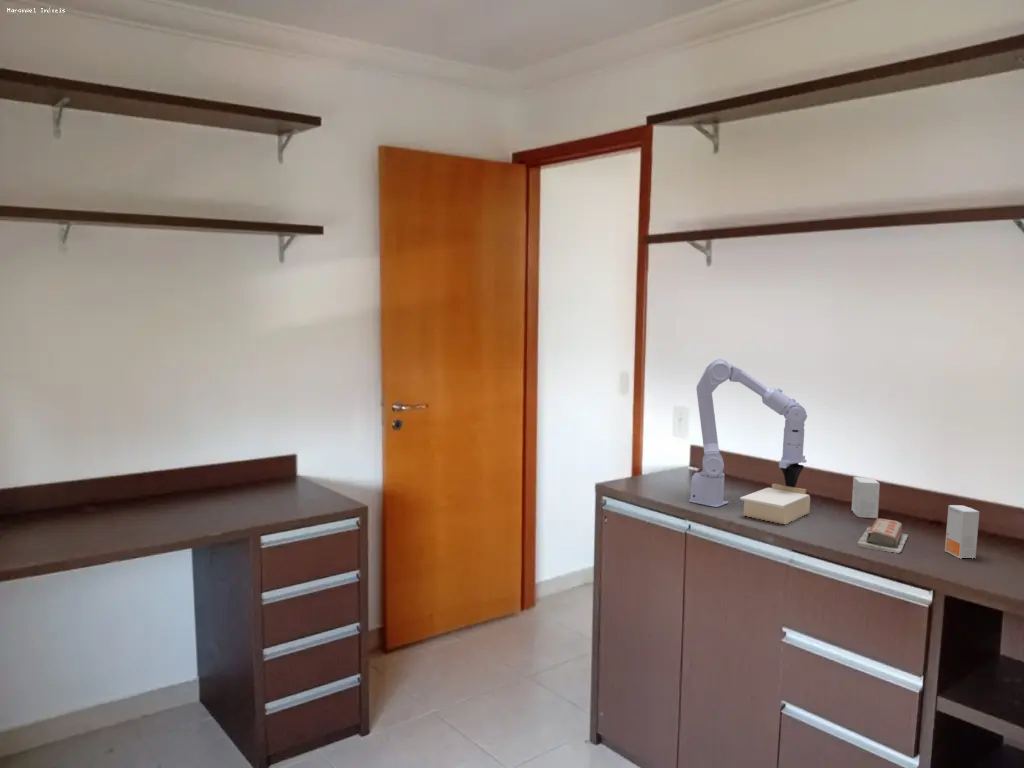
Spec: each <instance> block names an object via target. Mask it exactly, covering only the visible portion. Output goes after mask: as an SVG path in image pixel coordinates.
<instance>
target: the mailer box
mask: <svg viewBox="0 0 1024 768" xmlns="http://www.w3.org/2000/svg"><path fill="white" fill-rule="evenodd" d="M810 506H811V496H809V497H808V498H805V499H803V500H801V501H798V502H796V503H794V504H791V505H789V506H787V507H784V508H781V507H775V506H770V505H765V504H760V503H755V502H750V501H745V500H743V517H744V516H747V517H746V518H748V517H752V518H751V519H753V518H756V519H755V520H758V519H761V520H760V521H762V520H765V521H764V522H767V521H770V522H769V523H772V522H774V523H773V524H777V523H779V524H778V525H781V524H785V525H787V524H790V523H791V521H792V522H794V521H796V520H798V519H800V518H803V517H804V515H805V516H806V515H809V514H810V510H811V509H810V508H811V507H810ZM802 516H803V517H802ZM789 522H790V523H789Z"/></svg>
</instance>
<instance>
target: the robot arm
mask: <svg viewBox="0 0 1024 768" xmlns="http://www.w3.org/2000/svg"><path fill="white" fill-rule="evenodd" d="M728 380H729V382H732V383H740V384H741V385H743V386H744V387H746V388H748V389H749V390H751V391H752V392H754V393H755V394H757V395H759V396H760V397H761V401H762V404H764V405H765V406H767V408H769V409H771V410H772V411H773V412H774V413H775V412H776V413H777V414H778V415H779V416H783V417H784V419H785V421H784V428H783V438H782V439H783V443H782V456H781V459H780V460H779V461H778V467H779V468H780V470H781V471H782V475H783V477H784V483H785V486H790V487H796V486H797V482H798V479H799V476H800V475H801V473H802V471H803V470H804V465H803V464H805V463H807V459H806V455H804V445H805V444H804V441H805V422H806V420H807V418H808V415H807V411H806V409H805V408H804V407H803V405H802V404H800V403H799V402H797V400H796V399H795V398H791V397H789V396H788V395H786V394H785V393H783V390H782V389H781V388H780V387H778V388H777V387H767V386H766V385H763V383H762V382H760V381H758V380H757V379H756V378H755V377H753V376H752V375H750V374H749V373H747V371H744V370H743V369H741V368H739V367H738V366H736V365H734V364H732V363H728V362H727V361H726V360H724V359H721V358H719V359H718V358H717V359H714V360H713V361H711V363H710V364H708V366H706V367H705V370H704V372H703V373H702V376H701V377H700V379H699V381H698V383H697V385H696V396H697V405H698V413H699V421H700V428H701V436H702V445H703V452H704V454H703V456H702V458H701V460H702V470H701V471H700V472H695V473H694V474H693V475H692V477H691V482H690V499H689V500H688V503H694V504H699V505H704V506H708V507H709V506H710V507H713V508H719V507H722V506H725V505H726V504H729V502H730V501H728V500H724V494H725V493H724V492H725V491H724V490H725V477H726V476H725V473H724V472H723V471H724V469H725V463H724V458H723V456H722V454H721V452H720V449H719V448H720V447H719V439H718V434H717V433H718V432H717V423H716V416H715V407H714V399H713V393H714V391H715V390H716V389H717V388H718V387H719V386H720V385H721V384H723V383H724V382H726V381H728ZM800 463H803V464H800ZM796 488H797V487H796Z"/></svg>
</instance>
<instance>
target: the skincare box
mask: <svg viewBox="0 0 1024 768" xmlns="http://www.w3.org/2000/svg"><path fill="white" fill-rule="evenodd" d="M947 507H948V508H947V519H946V533H945V544H944V545H945V546H944V552H946V553H947V554H950V555H952V556H954V557H955V558H957V559H959V558H960V560H963V559H962V558H972V559H971V560H974V559H973V558H975V559H976V557H977V546H978V534H979V532H978V531H979V523H980V522H979V521H980V511H979V510H977V509H974V508H973V507H968V506H966V505H962V504H961V505H960V504H959V505H958V504H950V505H948V506H947Z"/></svg>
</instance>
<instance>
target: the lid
mask: <svg viewBox="0 0 1024 768" xmlns="http://www.w3.org/2000/svg"><path fill="white" fill-rule="evenodd" d="M808 497H810V494H807V489H806V488H800V487H790V486H786V484H785V485H783V484H778V483H772V484H771V487H765V488H763V489H760V490H757V491H755V492H754V491H753V492H752V493H749V494H746V495H743V496H740V498H739V500H740V501H744V500H745V501H750V502H755V503H760V504H765V505H770V506H775V507H781V508H784V507H787V506H789V505H791V504H794V503H796V502H798V501H801V500H803V499H805V498H808Z"/></svg>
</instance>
